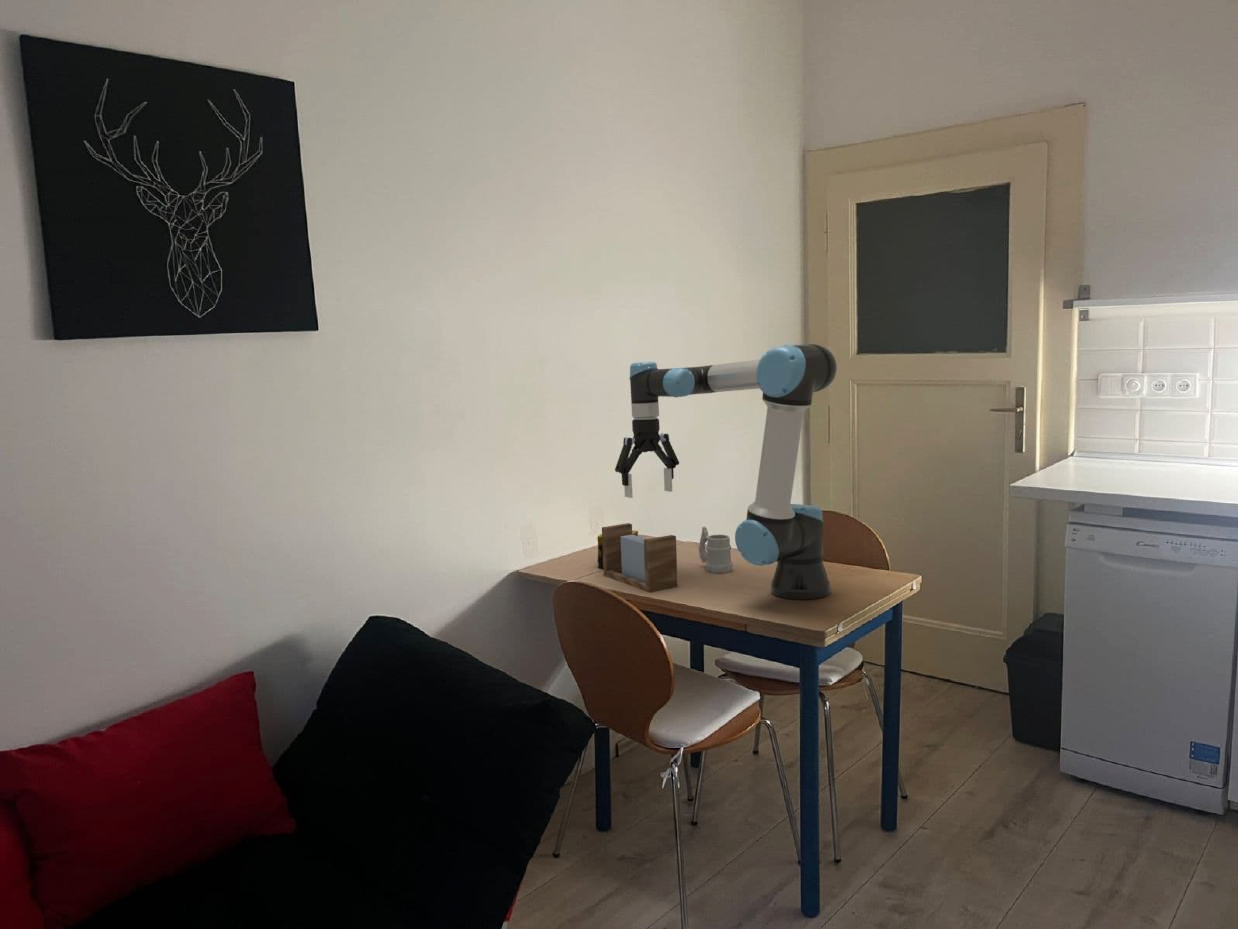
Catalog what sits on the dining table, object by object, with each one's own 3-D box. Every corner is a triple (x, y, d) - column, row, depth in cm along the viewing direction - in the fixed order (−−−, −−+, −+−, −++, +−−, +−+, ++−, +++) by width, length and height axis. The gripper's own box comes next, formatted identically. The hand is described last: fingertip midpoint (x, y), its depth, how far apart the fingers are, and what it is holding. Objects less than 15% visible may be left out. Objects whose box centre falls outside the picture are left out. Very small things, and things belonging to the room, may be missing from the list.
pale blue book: (657, 584, 254) (656, 541, 252) (645, 586, 252) (643, 543, 250) (633, 575, 264) (632, 534, 262) (622, 577, 262) (620, 536, 260)
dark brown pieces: (609, 561, 283) (607, 529, 281) (640, 562, 279) (639, 530, 278) (597, 569, 273) (595, 536, 272) (629, 570, 270) (628, 537, 268)
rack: (677, 586, 250) (675, 536, 248) (649, 592, 245) (648, 540, 243) (630, 570, 270) (628, 523, 268) (603, 575, 265) (601, 527, 264)
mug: (719, 575, 261) (718, 533, 259) (690, 568, 270) (689, 527, 268) (738, 570, 265) (737, 529, 264) (709, 563, 274) (708, 523, 273)
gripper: (673, 414, 264) (676, 487, 267) (600, 421, 250) (604, 498, 253) (689, 415, 258) (692, 490, 260) (615, 422, 244) (619, 501, 247)
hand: (648, 494), depth 257 cm, fingers open, 13 cm apart
